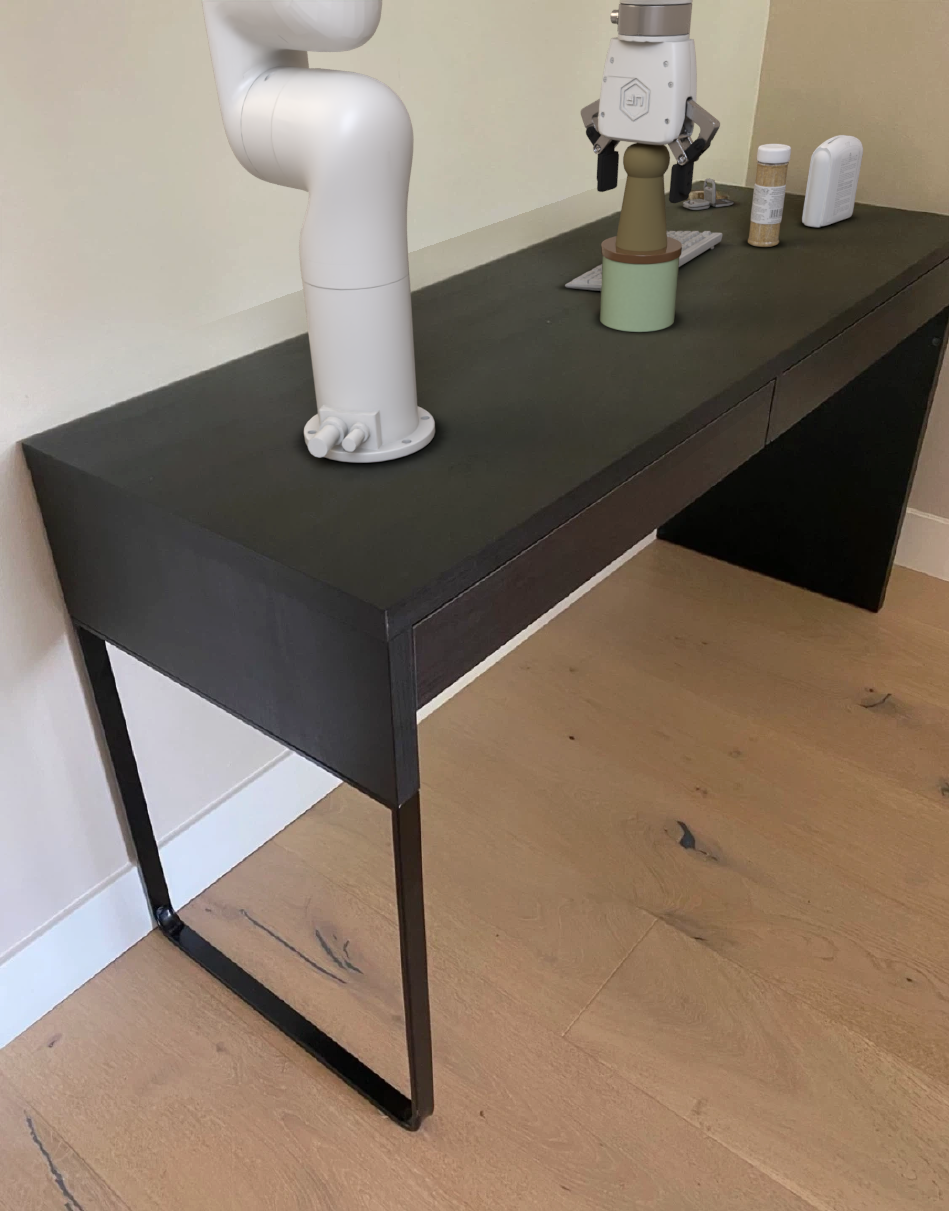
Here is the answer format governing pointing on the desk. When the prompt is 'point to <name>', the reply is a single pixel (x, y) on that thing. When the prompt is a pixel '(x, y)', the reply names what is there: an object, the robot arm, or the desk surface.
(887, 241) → the desk surface
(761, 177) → the sprinkles bottle
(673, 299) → the canister
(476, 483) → the desk surface
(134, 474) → the desk surface
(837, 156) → the white plastic container
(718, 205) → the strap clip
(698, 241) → the keyboard
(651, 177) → the brown tapered tall piece
